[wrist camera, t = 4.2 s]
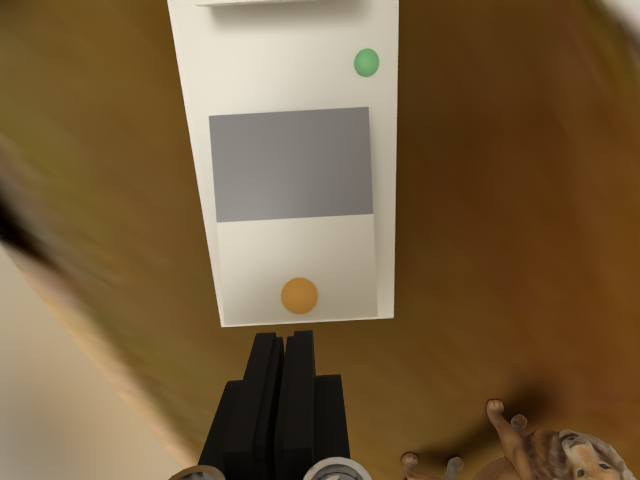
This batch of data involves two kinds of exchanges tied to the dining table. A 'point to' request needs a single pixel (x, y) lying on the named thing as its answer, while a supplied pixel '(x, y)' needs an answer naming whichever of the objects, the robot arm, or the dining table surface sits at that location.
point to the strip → (294, 91)
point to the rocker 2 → (294, 215)
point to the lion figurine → (538, 455)
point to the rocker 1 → (237, 2)
